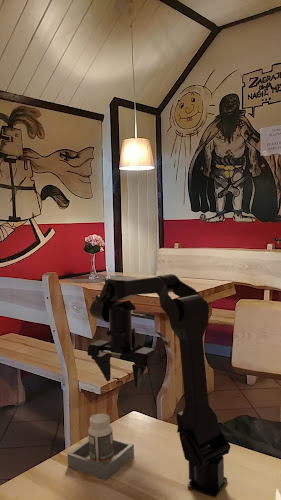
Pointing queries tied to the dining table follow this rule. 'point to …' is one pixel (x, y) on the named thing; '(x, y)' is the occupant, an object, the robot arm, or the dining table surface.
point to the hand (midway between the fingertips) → (122, 384)
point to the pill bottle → (100, 439)
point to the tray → (82, 462)
